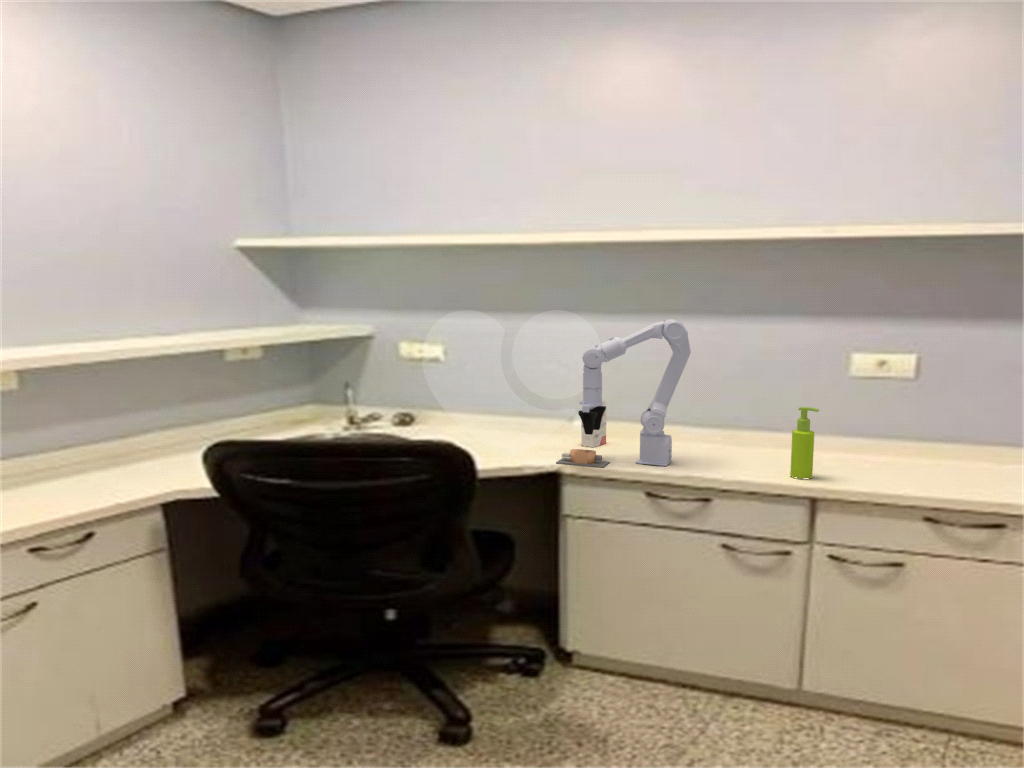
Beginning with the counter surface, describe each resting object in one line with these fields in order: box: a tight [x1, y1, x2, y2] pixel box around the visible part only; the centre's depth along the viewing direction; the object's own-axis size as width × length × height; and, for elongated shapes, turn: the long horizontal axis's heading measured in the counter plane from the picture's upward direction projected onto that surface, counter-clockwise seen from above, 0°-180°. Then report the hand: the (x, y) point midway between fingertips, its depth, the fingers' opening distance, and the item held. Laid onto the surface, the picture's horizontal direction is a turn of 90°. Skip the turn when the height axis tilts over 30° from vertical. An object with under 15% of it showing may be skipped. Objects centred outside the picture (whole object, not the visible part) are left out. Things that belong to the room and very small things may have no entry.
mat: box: [555, 457, 611, 469], centre depth 253 cm, size 15×7×1 cm, turn 67°
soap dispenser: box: [789, 406, 820, 478], centre depth 234 cm, size 6×7×20 cm
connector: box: [561, 448, 603, 464], centre depth 253 cm, size 12×4×3 cm, turn 67°
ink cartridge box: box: [580, 400, 607, 448], centre depth 279 cm, size 9×5×15 cm, turn 143°
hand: (592, 431), depth 254 cm, fingers open, 7 cm apart
